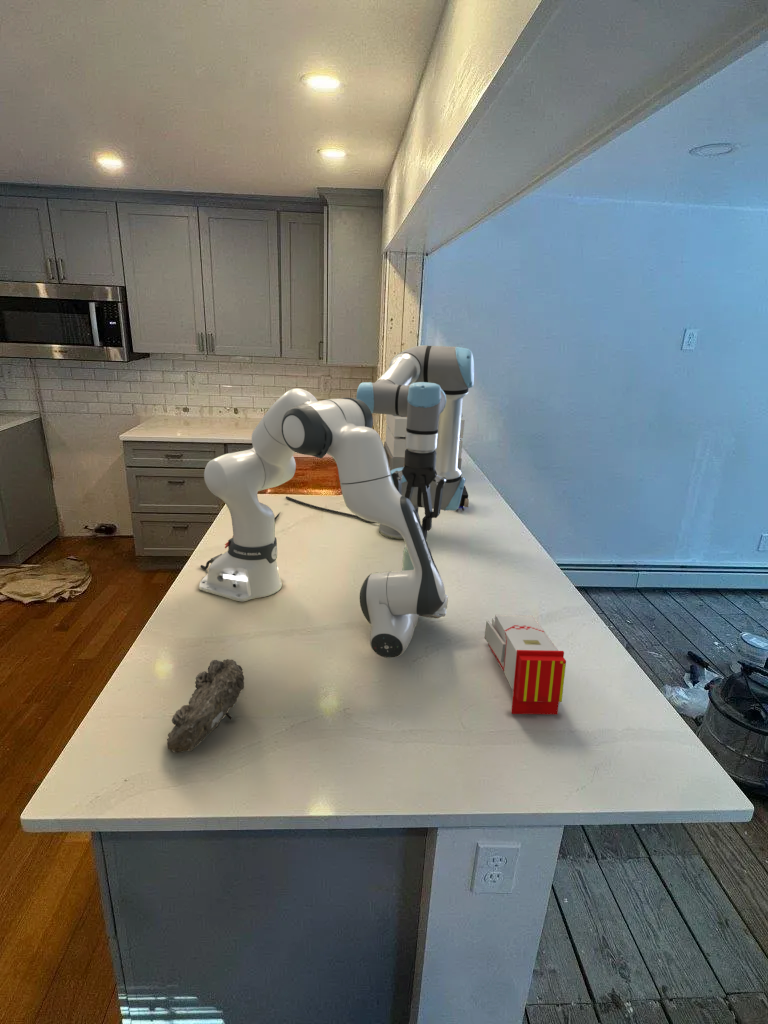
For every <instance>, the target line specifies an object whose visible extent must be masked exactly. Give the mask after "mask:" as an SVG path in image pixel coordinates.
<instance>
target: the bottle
mask: <svg viewBox="0 0 768 1024" xmlns="http://www.w3.org/2000/svg"><path fill="white" fill-rule="evenodd" d="M402 553H403V554H402V569H401V571H405V570H413V569H414V567H413V564H412V561H411V558H410V555H409V553H408V550H407V547H406V546H405V547H404V548H403V550H402Z"/></svg>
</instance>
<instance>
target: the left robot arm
mask: <svg viewBox="0 0 768 1024" xmlns="http://www.w3.org/2000/svg"><path fill="white" fill-rule="evenodd" d="M373 419H374V418H373V413H372V414H371V411H370V409H369V407H368V406H367V405H366V404H365V403H364V402H363V401H361V400H358V399H356V397H355V398H354V397H341V398H328V399H327V398H326V399H322V400H318V399H317V398H316V397H315V395H314V394H312V393H311V392H310V391H308V390H306V389H303V388H291V389H289V390H287V391H286V392H285V393H283V394H282V395H281V396H279V397H278V398H277V399H276V401H275V402H274V403H273V404H272V405H271V406H270V407H269V408H268V409H267V411H266V413H265V414H264V415H263V416H262V418H261V419H260V421H259V422H258V424H257V425H256V427H255V428H254V429H253V431H252V433H251V446H252V448H249V449H245V450H240V451H233V452H229V453H224V454H222V455H219V456H217V457H215V458H213V459H211V460H209V461H208V462H207V463H206V466H205V468H204V472H203V479H204V483H205V486H206V488H207V489H208V490H209V492H210V493H211V494H212V495H213V496H215V497H216V498H218V499H220V500H221V501H223V503H224V504H225V506H226V507H227V508H228V510H229V513H230V517H231V525H232V537H231V538H229V539H228V540H227V542H225V544H224V549H227V550H226V551H224V552H223V553H220V554H218V555H216V556H214V557H211V558H210V559H209V560H207V561H206V563H205V565H203V564H201V565H200V568H201V569H203V570H207V569H208V570H207V574H206V575H205V576H204V577H203V578H202V579H201V580H200V581H199V583H198V584H199V585H198V589H199V590H200V591H202V592H206V593H209V594H213V595H216V596H219V597H223V598H227V599H229V600H233V601H237V602H240V603H241V602H248V601H251V600H253V599H258V598H265V597H269V596H273V594H274V595H275V593H277V592H279V591H280V590H281V588H282V587H283V582H282V580H281V577H280V573H279V567H278V561H277V560H278V559H277V558H278V539H277V537H276V521H275V517H276V516H275V512H274V511H273V509H272V508H271V507H270V506H269V505H267V504H265V503H263V502H260V501H259V497H258V495H259V494H258V493H259V492H261V491H265V490H268V489H273V488H276V487H279V486H281V485H283V484H285V483H287V482H289V481H290V480H292V479H293V478H294V476H295V473H296V469H297V464H296V463H297V462H296V460H295V457H294V455H295V454H299V455H305V456H312V457H314V458H318V459H323V458H324V457H325V456H326V455H329V456H330V457H331V458H333V460H334V462H335V463H336V467H337V474H338V479H339V483H340V490H341V495H342V498H343V501H344V504H345V506H346V508H347V509H348V510H349V511H350V512H351V514H353V515H356V516H358V517H360V518H362V519H364V520H367V521H371V522H375V523H374V524H377V523H379V525H380V524H383V525H386V526H389V527H391V528H393V529H395V530H396V531H398V532H399V533H400V534H401V535H402V537H403V539H404V540H403V541H404V544H405V547H407V550H408V553H409V555H410V558H411V561H412V564H413V567H414V569H413V570H405V571H402V570H395V571H392V570H391V571H390V570H389V571H382V572H373V573H372V572H371V573H369V574H368V575H367V577H366V578H365V580H364V581H363V583H362V584H361V587H360V591H359V606H360V609H361V612H362V614H363V617H364V618H365V619H366V621H367V622H368V623H369V625H370V634H369V635H370V636H369V644H370V647H371V650H372V651H373V652H374V653H375V654H376V655H377V656H379V657H382V658H386V659H392V658H393V659H394V658H397V657H400V656H402V655H403V654H404V653H405V652H406V650H407V648H408V647H409V645H410V643H411V641H412V638H413V636H414V633H415V629H416V627H417V624H418V622H419V619H420V617H421V618H428V619H440V618H442V617H443V618H444V617H445V616H446V615H447V609H448V602H449V596H448V595H447V594H446V587H445V584H444V581H443V579H442V577H441V573H440V571H439V569H438V567H437V565H436V563H435V560H434V559H433V555H432V553H431V550H430V549H431V548H430V546H429V543H428V540H426V538H425V535H424V532H423V529H422V526H421V525H422V523H421V524H420V522H421V520H420V521H419V518H420V517H419V518H418V516H417V513H416V511H415V509H414V506H413V505H412V503H411V501H410V500H409V499H408V498H406V497H403V496H402V495H401V494H400V493H399V492H398V490H397V489H396V487H395V486H394V483H393V481H392V478H391V473H390V467H389V463H388V459H387V455H386V452H385V449H384V442H383V441H382V438H381V436H380V433H379V432H378V431H377V430H376V429H374V428H373V426H374V425H373V424H374V420H373Z"/></svg>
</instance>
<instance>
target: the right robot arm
mask: <svg viewBox="0 0 768 1024" xmlns="http://www.w3.org/2000/svg"><path fill="white" fill-rule="evenodd" d="M474 360H475V359H474V354H473V352H472V350H471V349H470V348H467V347H460V346H448V345H447V346H445V345H428V344H425V345H423V344H422V345H417V346H416V345H415V346H412V347H409V348H407V349H404V350H402V351H400V352H398V353H397V354H396V355H395V356H394V357H392V359H391V361H390V362H389V365H388V368H387V369H386V370H385V371H384V373H382V374H381V375H380V376H379V377H378V379H377V380H376V381H375V382H372V381H369V382H361V383H360V384H359V385H358V387H357V391H356V397H355V399H358V400H361V401H363V402H364V403H365V404H366V405H367V406H368V407H369V409H370V411H371V414H372V415H373V414H377V415H386V414H390V415H402V416H407V428H406V442H405V447H406V448H407V449H406V450H405V459H404V467H401V468H396V469H393V470H391V471H390V473H391V478H392V481H393V483H394V486H395V487H396V489H397V490H398V492H399V493H400V494H401V495H402V496H403V497H406V498H408V499H409V500H410V501H411V503H412V505H413V506H414V509H415V511H416V513H417V516H418V518H419V521H420V524H421V526H422V529H423V532H424V535H425V538H426V540H427V539H428V532H430V531H431V529H432V525H433V519H437V518H438V517H439V516H440V514H441V511H444V512H445V511H451V512H452V511H453V512H454V511H456V510H457V511H458V509H460V508H459V504H460V501H461V496H462V492H463V488H464V486H465V483H466V478H465V477H463V476H462V470H461V471H460V470H459V469H458V468H457V465H458V453H459V440H460V439H461V438H460V427H461V418H462V417H461V415H462V416H463V402H464V401H463V400H464V397H466V396H467V395H468V394H469V389H471V388H473V387H474V386H475V385H474V384H475V361H474ZM285 499H287V500H290V501H292V502H295V503H297V504H301V505H302V506H306V507H308V508H309V507H310V508H312V509H316V510H321V511H324V512H329V513H333V514H337V515H341V516H347V517H350V518H354V519H358V520H360V521H362V522H365V523H367V524H379V523H375V522H371V521H367V520H364V519H362V518H360V517H358V516H356V515H355V514H353V513H347V512H343V511H338V510H334V509H329V508H326V507H321V506H317V505H314V504H310V503H308V502H305V501H301V500H298V499H296V498H293V497H290V496H285ZM419 508H422V509H423V508H424V517H423V518H422V520H421V518H420V515H419ZM421 521H422V522H421ZM378 533H379V534H380V535H381V536H382V537H385V538H387V539H389V540H395V541H404V539H403V537H402V535H401V534H400V533H399V532H398V531H396V530H395V529H393V528H391V527H389V526H386V525H383V524H379V525H378ZM427 541H428V540H427Z"/></svg>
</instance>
